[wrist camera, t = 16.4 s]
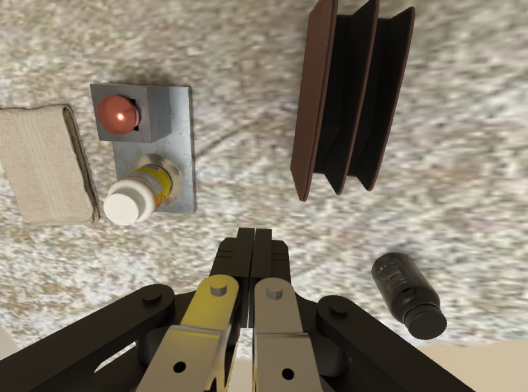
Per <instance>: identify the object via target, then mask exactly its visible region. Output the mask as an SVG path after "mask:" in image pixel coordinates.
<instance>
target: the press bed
mask: <svg viewBox="0 0 528 392" xmlns="http://www.w3.org/2000/svg"><path fill="white" fill-rule="evenodd" d="M90 88H91V94H92V100H93V106H94V112H95V118H96V124H97V130H98V136H99V140H100V141H112V145H113V151H114V158H115V165H116V171H117V178H118V181H119V180H121V179H122V178H124V177H125V176H127V175H128V174H130V173H132V172H133V171H135V170H136V169H138V168H140V167H141V166H143V165H146V164H157V165H160V166H162V167H164V168H165V169H166V170H167V171H168V172H169V173H170V175H171V177H172V179H173V189H172V192H171V193H170V195H169V196H168V197H167V198H166V199H165V200H164V201H163V202H162V204H161V205H160V206H159V207H158V208H157V209H156V210H155V211H154V212H171V213H188V214H194V213H195V211H196V187H195V164H194V141H193V118H192V95H191V87H178V86H159V85H140V84H121V83H103V84H90ZM116 95H118V96H123V97H125V98H127V99H129V100H134V99H135V101H136V109H137V111H138V115H139V121H138V125H137V127H136V128H135V129H134V130H133V131H132V132H129V133H126V134H123V135H115V134H112V133H110V132H108V131H107V130H105V129H104V128H103V127H102V125H101V124H100V122H99V120H98V117H97V106H98V104H99V102H100V101H101V100H102V99H103V98H105V97H107V96H116Z"/></svg>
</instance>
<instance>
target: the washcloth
mask: <svg viewBox="0 0 528 392" xmlns="http://www.w3.org/2000/svg"><path fill="white" fill-rule="evenodd" d="M0 159H1V162H2V164H3V169H4V170H5V172H6V175H7V178H8V180H9V184H10V185H11V188H12V190H13V192H14V195H15V198H16V200H17V204H18V207H19V210H20V213H21V214H22V218H23V219H24V220H25V222H26V223H31V224H32V225H33V226H36V227H40V226H42V225H67V224H68V225H76V224H77V225H78V224H92V223H93V222H95V221H98V220H99V214H98V212H99V211H98V210H99V205H98V199H97V194H96V191H95V187H94V184H93V180H92V177H91V173H90V169H89V165H88V162H87V158H86V155H85V152H84V148H83V145H82V142H81V138H80V134H79V131H78V127H77V124H76V120H75V117H74V115H73V112H72V110H71V109H70V108H69V107H68V106H67V105H54V106H46V107H43V108H39V109H27V110H25V109H3V110H0Z"/></svg>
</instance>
